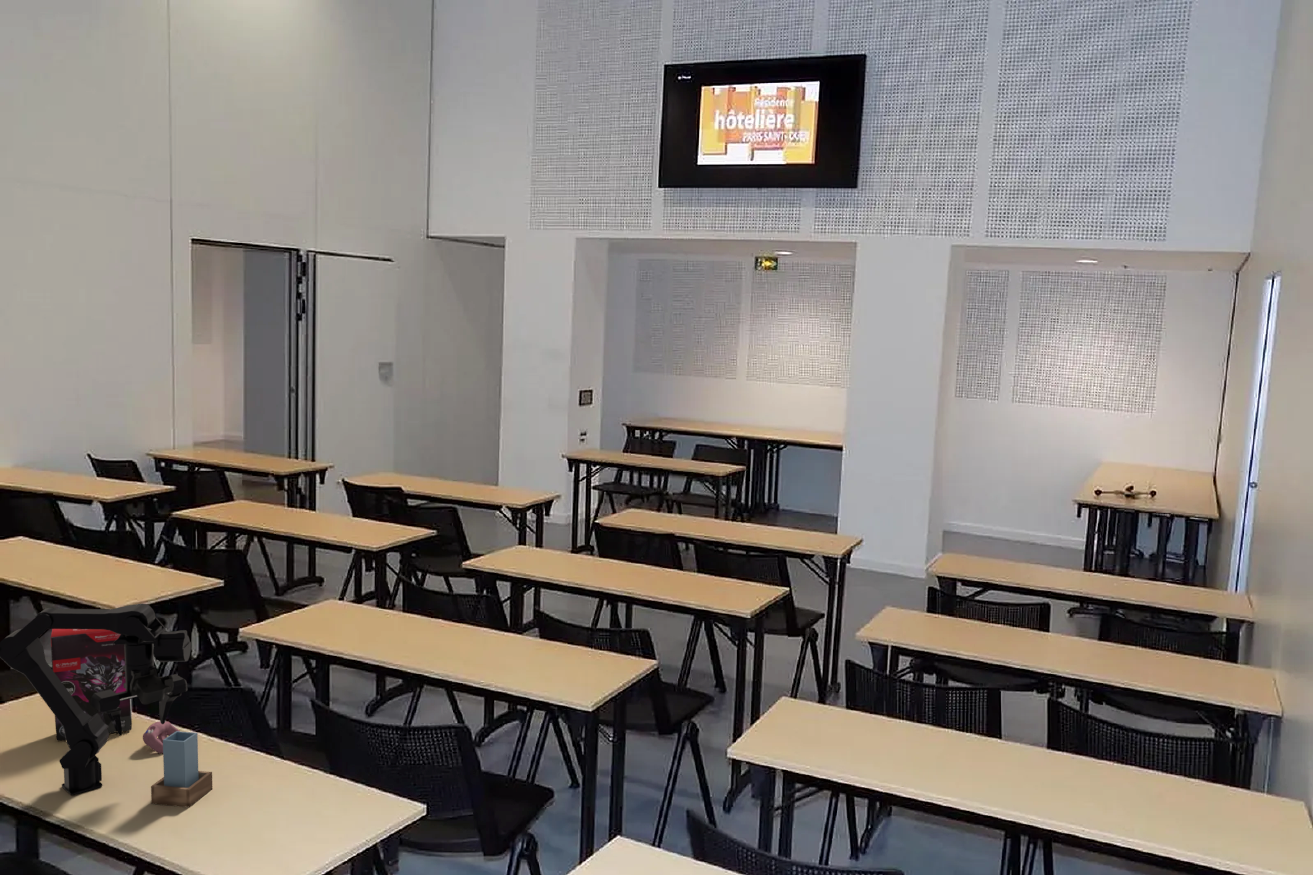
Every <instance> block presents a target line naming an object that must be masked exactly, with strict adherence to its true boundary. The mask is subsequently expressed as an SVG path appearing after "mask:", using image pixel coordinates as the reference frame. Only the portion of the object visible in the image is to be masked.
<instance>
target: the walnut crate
mask: <svg viewBox="0 0 1313 875" xmlns="http://www.w3.org/2000/svg"><path fill="white" fill-rule="evenodd" d="M198 777H199V780H198V781H197V782H195V783H194V784H193V785H191V786H190V787H189V788H183V787H172V786H164V776H163V777H162V778H160V779H159V780H157V781H156V782H155V783H153V784H152V785H151V786H150V794H151V795H150V797H151V804H152V805H160V806H161V805H162V806H172V807H180V808H181V807H184V808H191V807H192V806H193V805H195V804H196V803H197V802H198V801H200V800H201V799H202V798H203V797H205V796H206V795H207V794H208V793H209V792H211V791H212V790H213V771H205V770H198Z"/></svg>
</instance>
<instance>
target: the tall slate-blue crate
mask: <svg viewBox="0 0 1313 875" xmlns="http://www.w3.org/2000/svg"><path fill="white" fill-rule="evenodd" d="M198 745H199V740H198V732H192V731H191V732H190V731H181V730H180V731H176V732H174V733H173V734H171V735H170V736H168V735H167V738H165V739H164V740H163V754H162V756H163V757H162V758H163V760H162V762H163V777H164V786H172V787H183V788H189V787H190V786H191V785H193V784H194V783H195V782H197V781H198V780H199V777H198V771H199V747H198Z"/></svg>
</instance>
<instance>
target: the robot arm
mask: <svg viewBox="0 0 1313 875" xmlns="http://www.w3.org/2000/svg"><path fill="white" fill-rule="evenodd" d="M52 629H104V630H110V631H112V632H115V633H117V634H121V635H120V637H119V638H118V639H117V640H115V641H114V644H115V645H120V644H124V650H125V665H124V666H123V670H124V671H125V680H126V683H124V688H125V689H126V691H124V692H119V693H115V692H114V691H112V690H111V689H110V690H106V691H101V692H97V693H94V694H93V696H92V698H91V705H92V706H93V707H94V708H96V709H97V710H98V711H100V712H105V713H106V714H108V716H109V717H110V719H111V721H112V723H113V725H114V727H115V729H116V731H117V732H116V733H117V735H118V736H122V734H123V731H122V726H121V717H120V713H121V710H122V709H121V708H119V707H118V706H119V705H120V701H124V700H128V699H131V700H132V699H136V698H137V699H139V701H140V702H139V703H141V704H142V705H149V704H152V703H154V702H155V703H156V702H158V705H159V706H158V707H159V708H158V710H159V721H160V722H161V724H164V723H165V720H166V721H167V718H168V715H169V712H170V709H171V706H172V704H173V702H174V701H176V699H177V698H178V697H181V696H182V693H186V692H188V683H187V682H188V681H187V680H186V679H185V678H183V677H181V676H180V675H178V674H176V673H174V674H169V675H164V676H158V673H157V667H156V666H155V663H154V662H155V661H158V662H159V663H171V662H173V663H174V662H175V663H176V662H179V663H180V662H181V663H182V662H188V661H189V659H190V656H191V650H192V649H191V648H192V642H191V641H190V637H189V635H188V631H187V630H185V629H183V630H177V631H166V630H167V628H166V627H165V625H163V623H162V622H161V621H160V620H159V619H158V617H157V616H156V613H155V611H154V609H153V608H152V607H151V605H149V604H147V603H135V604H130V605H124V606H120V607H117V608H108V609H102V608H101V609H99V608H95V609H94V608H55V607H47V608H45V609H43V610H42V611H41V612H39V613H38V614H36V616H35V617H34V618H33V619H32V620H31V621H29V623H27V625H25V626H24V627H23V628H19V629H17V630H16V629H15V631H13V632H11V633H10V634H9V635H7V636H6V637H4V638H3V639H2V640H0V659H1V660H2V661H3V662H4V663H5V664H6V665H7V666H8V667H10V668H11V669H12V670H15V671H17V672H19V673H21V674H22V675H24V676H25V678H26V679H27V680H28V681H29V683H30V684H31V685H32V687H33V688H34V689H35V691H36V692H37V693H38V695H39V696H40V697H41V699H42V700H43V701H44V703H45V704H46V705H47V707H48V708H49V710H50V712H52V714H54V717H55V716H56V717H57V719H58V720H59V721H60V723H61V724H62V726H63V728H64V732H65V738H66V740H65V741H66V742H65V743H66V744H67V745H68V748H69V749H68V750H67V752H65V754H64V755H63V756H62V757H61V758H59V760H58V762H59V764H60V765H61V768H62V769H63V778H64V780H63V781H64V783H62V784H61V788H63V789H64V790H65V792H67V793H68V794H69V795H70V796H75V795H78V794H82V793H85V792H88V791H91V790H95V789H99V788H101V787H103V783H102V778H103V775H102V773H103V772H102V763H101V762H99V761H100V760H99V757H98V756H97V754H99V752H100V751H101V750H102V748H103V747H104V746H105V745H106V744H107V743H108V740H109V736H110V733H109V732H108V730H107V728H108V725H106V724H105V723H104V722H103V721H102V719H101V717H100V715H99V714H98V713H96V714H95V715H94V716H93V717H92V716H90V715H88V714H86V713H84V712H83V711H82V709H81V708H80V707H79V705H78V704H77V702H76V701H75V700H74V698H73V697H72V696H71V694H70V693H69V692H68V690H67V689H66V688H65V686H64V685H63V684H62V682H61V681H60V680H59V678H58V677H57V675H56V674H55V673H54V671H53V670H52V666H50V665H49V663H48V662H47V660H46V655H45V650H44V645H43V644H42V642H41V640H40V639H41V638H42V637H43V636H44V635H45V634H46V633H48V632H49V631H50V630H52ZM149 629H150V630H149ZM154 659H155V660H154Z"/></svg>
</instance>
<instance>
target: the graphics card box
mask: <svg viewBox="0 0 1313 875" xmlns="http://www.w3.org/2000/svg"><path fill="white" fill-rule="evenodd" d="M120 635H121V634H117V633H115V632H112V631H110V630H104V629H51V634H50V651H51V653H50V654H51V669H52V670H53V671H54V673H55V674H56V675H57V677H58V678H59V680H60V681H61V682H62V684H63V685H64V686H65V688H66V689H67V690H68V692H69V693H70V694H71V696H72V697H73V698H74V700H75V701H76V702H77V704H78V705H79V707H80V708H81V709H82V711H83V712H84V713H86V714H88V715H90V716H92V717H93V716H94V715H95V714H96V713H98V714H99V715H100V717H101V719H102V721H103V722H104V723H105V724H106V725H108V728H107V730H108V732H109V734H113V733H114V734H115V733H117V731H116V729H115V727H114V725H113V723H112V721H111V719H110V717H109V716H108V714H106V713H105V712H100V711H98V710H97V709H96V708H94V707H93V706H92V705H91V698H92V696H93V694H94V693H97V692H101V691H106V690H110V689H111V690H112V691H114V692H115V693H119V692H124V691H126V689H125V688H124V683H126V680H125V671H124V670H123V666H124V665H125V650H124V644H120V645H115V644H114V641H115V640H117V639H118V638H119V637H120ZM118 707H119V708H121V709H122V710H121V713H120V717H121V726H122V732H126V731H131V730H132V729H133V728H132V726H133V721H132V720H133V719H132V717H133V716H132V713H133V712H132V699H128V700H124V701H120V705H119V706H118ZM54 722H55V736H56V738H55V739H56V742H57V741H66V738H65V732H64V728H63V726H62V724H61V723H60V721H59V720H58V719H57V717H56V716H55V715H54Z"/></svg>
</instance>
